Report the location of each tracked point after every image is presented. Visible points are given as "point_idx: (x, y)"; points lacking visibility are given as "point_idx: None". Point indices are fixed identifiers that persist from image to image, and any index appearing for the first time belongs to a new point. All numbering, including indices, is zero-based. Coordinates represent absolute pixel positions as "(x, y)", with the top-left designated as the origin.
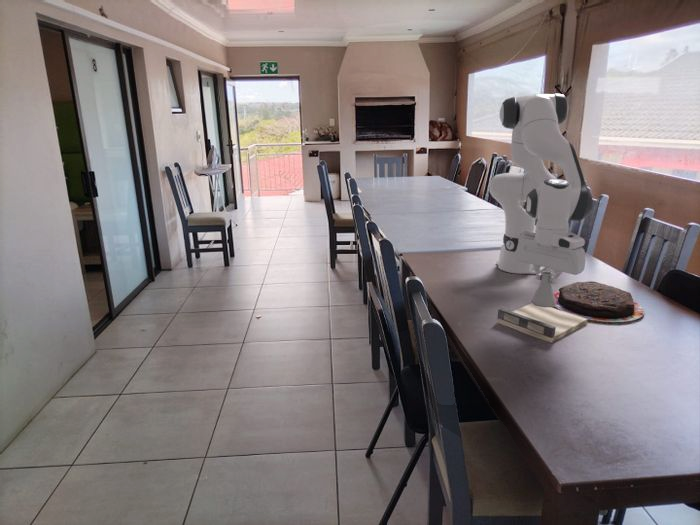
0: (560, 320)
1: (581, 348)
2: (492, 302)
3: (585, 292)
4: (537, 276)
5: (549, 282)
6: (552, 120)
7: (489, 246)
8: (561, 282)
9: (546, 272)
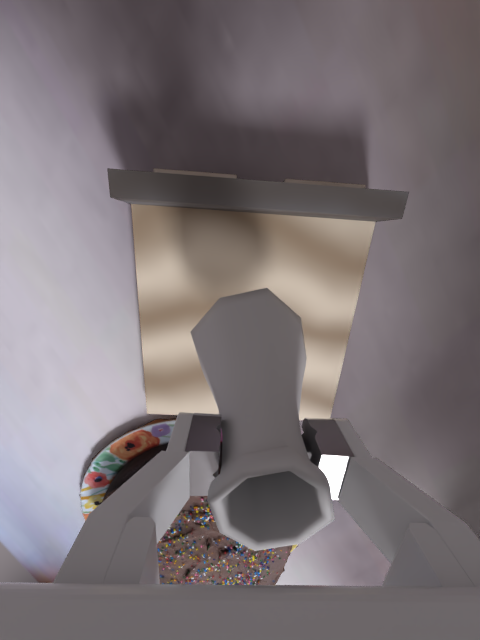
0: (195, 350)
1: (52, 227)
2: (448, 351)
3: (211, 537)
4: (344, 437)
5: (219, 415)
6: None
7: None
8: (331, 572)
9: (292, 523)
